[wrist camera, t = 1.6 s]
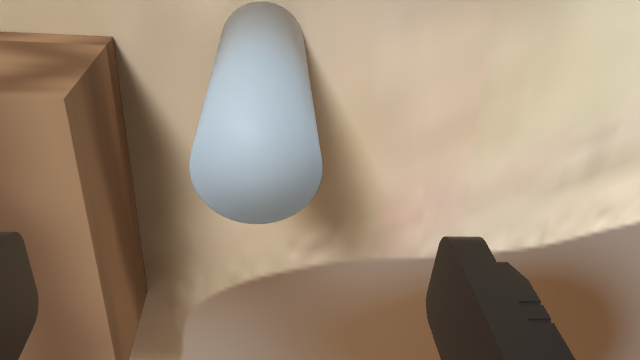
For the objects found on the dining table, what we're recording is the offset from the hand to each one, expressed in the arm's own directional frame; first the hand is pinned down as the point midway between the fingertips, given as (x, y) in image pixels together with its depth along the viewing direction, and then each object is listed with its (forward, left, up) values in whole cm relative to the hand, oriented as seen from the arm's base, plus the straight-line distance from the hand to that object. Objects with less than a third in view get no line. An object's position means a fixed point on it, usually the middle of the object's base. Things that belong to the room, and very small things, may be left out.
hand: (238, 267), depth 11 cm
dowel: (0, 0, -14) cm, 14 cm away
